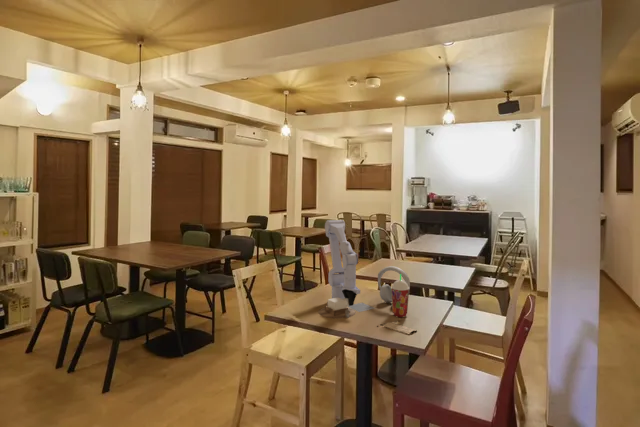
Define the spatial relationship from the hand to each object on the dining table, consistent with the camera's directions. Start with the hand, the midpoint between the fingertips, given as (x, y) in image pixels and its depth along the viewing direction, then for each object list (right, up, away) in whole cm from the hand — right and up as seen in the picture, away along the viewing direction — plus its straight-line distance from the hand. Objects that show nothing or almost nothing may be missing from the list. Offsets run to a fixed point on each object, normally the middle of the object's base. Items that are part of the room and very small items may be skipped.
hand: (349, 304), depth 190 cm
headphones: (+24, -3, +12) cm, 27 cm away
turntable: (-7, -4, -4) cm, 8 cm away
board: (-2, -4, -1) cm, 4 cm away
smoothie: (+24, -4, -5) cm, 25 cm away
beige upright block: (-4, -2, -3) cm, 6 cm away
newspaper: (+17, -6, -18) cm, 26 cm away
